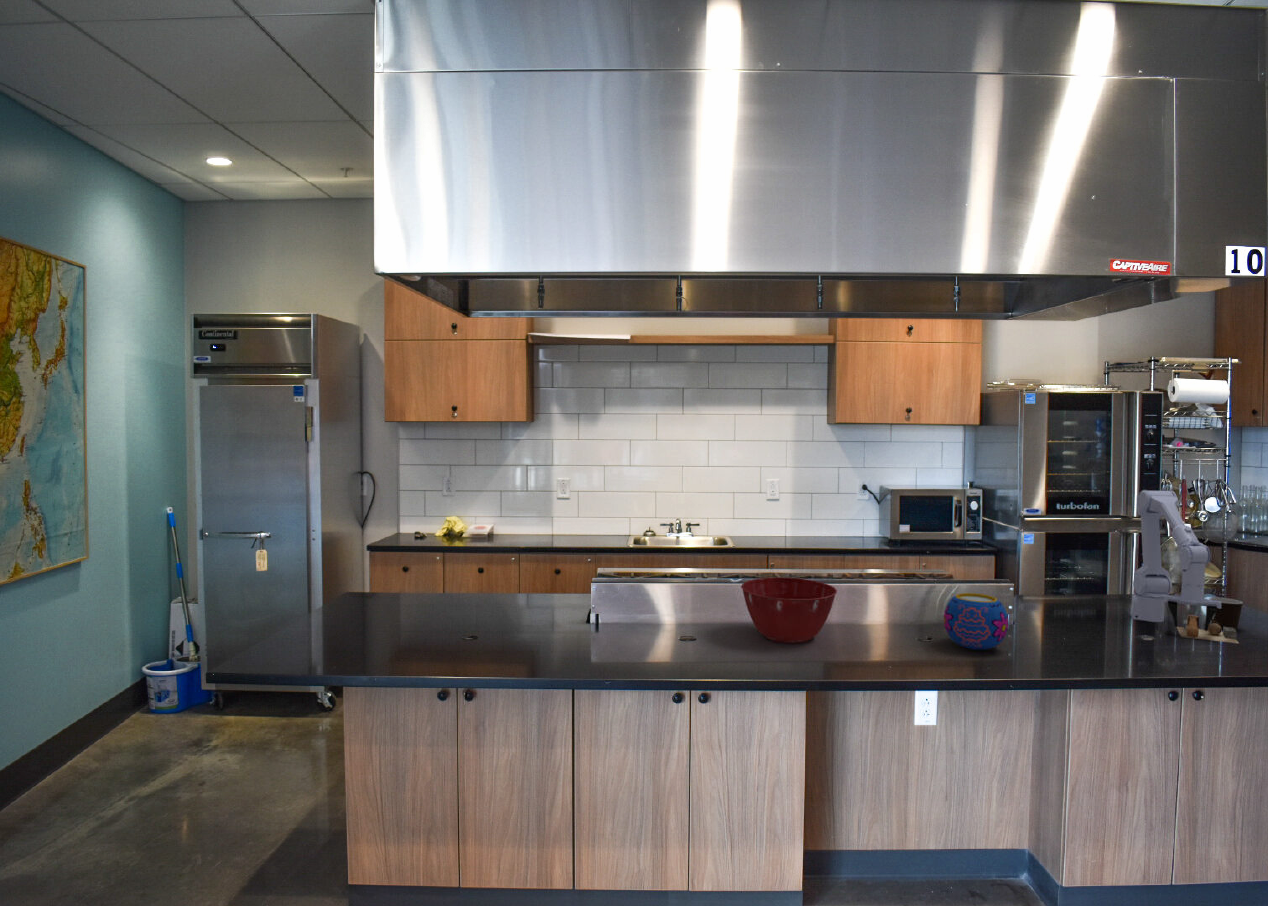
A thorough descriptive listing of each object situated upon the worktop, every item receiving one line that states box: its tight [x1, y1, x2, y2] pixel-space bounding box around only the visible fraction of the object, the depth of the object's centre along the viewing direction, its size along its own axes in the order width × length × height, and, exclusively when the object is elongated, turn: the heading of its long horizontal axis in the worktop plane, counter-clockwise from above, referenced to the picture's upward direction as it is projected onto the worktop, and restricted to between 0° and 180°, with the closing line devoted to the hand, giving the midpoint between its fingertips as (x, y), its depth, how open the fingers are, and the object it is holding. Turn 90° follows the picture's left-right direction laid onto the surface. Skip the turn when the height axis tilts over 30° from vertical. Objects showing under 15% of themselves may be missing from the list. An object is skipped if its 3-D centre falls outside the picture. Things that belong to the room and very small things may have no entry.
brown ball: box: [1208, 622, 1223, 635], centre depth 254 cm, size 4×4×4 cm
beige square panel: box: [1176, 624, 1240, 644], centre depth 254 cm, size 14×14×3 cm
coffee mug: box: [1208, 597, 1243, 631], centre depth 263 cm, size 12×9×10 cm
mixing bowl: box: [740, 577, 838, 644], centre depth 248 cm, size 28×28×16 cm
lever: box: [1183, 614, 1200, 637], centre depth 256 cm, size 14×3×6 cm, turn 149°
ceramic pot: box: [943, 592, 1010, 651], centre depth 240 cm, size 18×18×15 cm
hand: (1190, 628), depth 251 cm, fingers open, 7 cm apart
